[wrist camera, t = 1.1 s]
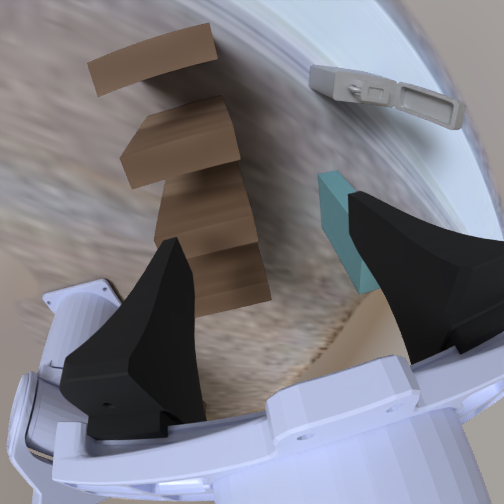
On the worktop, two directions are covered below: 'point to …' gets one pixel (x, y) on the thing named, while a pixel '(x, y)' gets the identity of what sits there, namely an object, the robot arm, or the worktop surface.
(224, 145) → the walnut domino
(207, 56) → the walnut domino
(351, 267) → the teal domino
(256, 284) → the walnut domino
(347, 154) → the worktop surface
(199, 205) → the walnut domino
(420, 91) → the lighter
